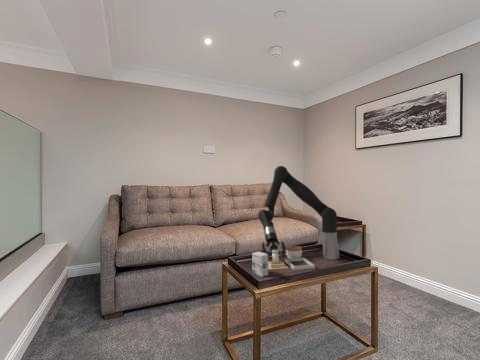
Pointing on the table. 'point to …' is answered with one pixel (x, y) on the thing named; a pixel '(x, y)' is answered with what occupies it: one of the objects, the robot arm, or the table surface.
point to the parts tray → (309, 266)
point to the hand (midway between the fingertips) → (276, 257)
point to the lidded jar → (293, 251)
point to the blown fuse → (275, 256)
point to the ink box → (260, 263)
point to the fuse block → (276, 265)
